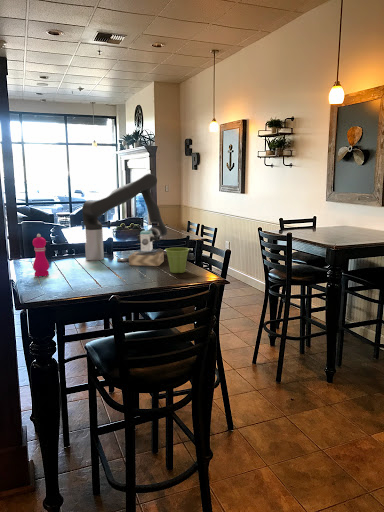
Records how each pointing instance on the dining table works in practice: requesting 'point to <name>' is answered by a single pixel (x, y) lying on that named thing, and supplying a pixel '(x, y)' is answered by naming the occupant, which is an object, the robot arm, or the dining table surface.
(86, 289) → the dining table surface
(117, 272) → the dining table surface
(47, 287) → the dining table surface
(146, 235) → the housing
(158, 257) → the beige chevron box
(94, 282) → the dining table surface
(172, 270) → the plant pot
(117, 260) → the bolt
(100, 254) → the robot arm
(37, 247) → the pepper mill
